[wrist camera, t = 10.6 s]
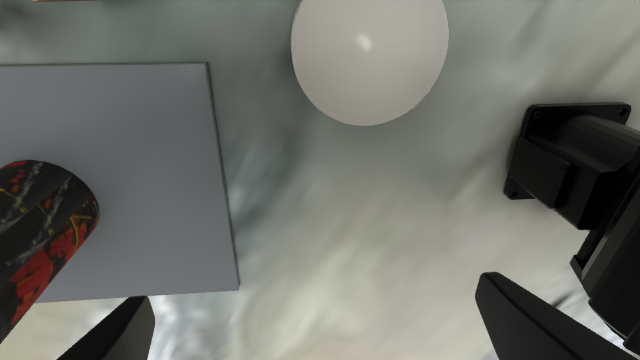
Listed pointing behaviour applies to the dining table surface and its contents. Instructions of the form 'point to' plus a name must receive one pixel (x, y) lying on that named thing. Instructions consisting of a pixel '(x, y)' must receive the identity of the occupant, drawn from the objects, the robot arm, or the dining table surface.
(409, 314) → the dining table surface
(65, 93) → the slate board
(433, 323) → the dining table surface
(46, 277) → the deodorant
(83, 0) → the walnut box
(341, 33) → the off-white smooth dome
